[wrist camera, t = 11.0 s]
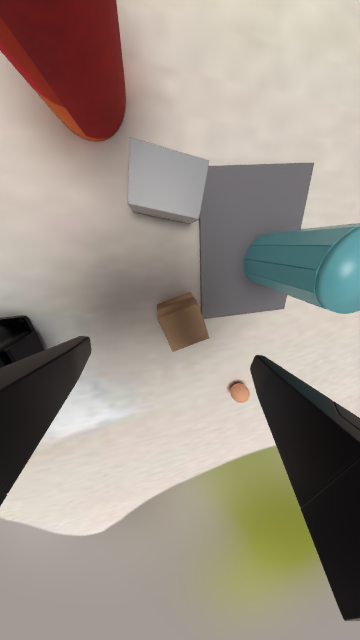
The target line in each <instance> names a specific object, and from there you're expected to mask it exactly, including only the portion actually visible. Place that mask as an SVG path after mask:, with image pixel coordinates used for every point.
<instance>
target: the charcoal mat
mask: <svg viewBox="0 0 360 640" xmlns="http://www.w3.org/2000/svg"><path fill="white" fill-rule="evenodd" d="M313 166H314V163H289V164H259V165H228V166H208V170H207V176H206V182H205V187H204V193H203V198H202V204H201V209H200V215H199V218H200V271H201V313H202V317H203V319H207V318H215V317H223V316H231V315H239V314H247V313H255V312H262V311H270V310H278V309H284V307H285V302H286V297H287V294H284V293H281V292H279V291H276V290H273V289H271V288H268V287H265V286H263V285H260V284H257V283H255V282H252V281H250V279H249V278H248V276H247V275H246V273H245V271H244V257H245V255H246V253H247V250H248V248H249V246H250V244H252V243H253V242H254V241H255V240H256V239H257V238H258V237H259V236H260V235H264V234H268V233H272V232H280V231H290V230H299V229H301V224H302V219H303V214H304V209H305V205H306V200H307V195H308V190H309V185H310V180H311V175H312V171H313Z"/></svg>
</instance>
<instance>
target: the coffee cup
mask: <svg viewBox="0 0 360 640" xmlns="http://www.w3.org/2000/svg"><path fill="white" fill-rule="evenodd" d="M0 51H1V52H2V53H3V54H4V55H5V56H6V58H7V59H8V60H9V61H10V62H11V63H12V65H13V66H14V67H15V68H16V69H17V70H18V72H19V73H20V74H21V75H22V76H23V77H24V78H25V80H26V81H27V82H28V83H29V84H30V85H31V87H32V88H33V89H34V90H35V91H36V92H37V93H38V95H39V96H40V97H41V98H42V99H43V100H44V101H45V103H46V104H47V105H48V106H49V107H50V108H51V109H52V111H53V112H54V113H55V114H56V115H57V116H58V117H59V118H60V119H61V120H62V121H63V123H64V124H65V125H66V126H67V127H68V128H70V129H71V130H72V131H73V132H74V133H76V134H77V135H79V136H81V137H83V138H85V139H88V140H92V141H102V140H106V139H108V138H110V137H111V136H113V135H114V134H115V133H116V132H117V130H118V129H119V127H120V125H121V123H122V121H123V117H124V113H125V103H126V96H125V81H124V70H123V61H122V51H121V41H120V32H119V23H118V14H117V4H116V0H0Z"/></svg>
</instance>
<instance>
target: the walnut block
mask: <svg viewBox="0 0 360 640" xmlns="http://www.w3.org/2000/svg"><path fill="white" fill-rule="evenodd" d="M157 313H158V320H159V323H160V325H161V327H162V329H163V331H164V334H165V336H166V338H167V340H168V342H169V345H170V347H171V349H172V351H176V350H179V349H181V348H184V347H187V346H189V345H192V344H195V343H197V342H200V341H203V340H205V339H208V338H209V336H208V332H207V329H206V326H205V323H204V320H203V317H202V313H201V310H200V307H199V304H198V302H197V301H196V300H195V298H194V297H193V296H192V294H191V293H187V294H184V295H182V296H179V297H177V298H174V299H171V300H169V301H166V302H164V303H161V304H158V305H157Z"/></svg>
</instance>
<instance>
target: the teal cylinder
mask: <svg viewBox="0 0 360 640" xmlns="http://www.w3.org/2000/svg"><path fill="white" fill-rule="evenodd" d="M244 271H245V273H246V275H247V276H248V278H249V279H250V281H252V282H255V283H257V284H260V285H263V286H265V287H268V288H271V289H273V290H276V291H279V292H281V293H284V294H287V295H289V296H292V297H295V298H297V299H300V300H303V301H305V302H308V303H311V304H313V305H316V306H319V307H322V308H324V309H327V310H330V311H333V312H336V313H342V314H347V313H353V312H356V311H359V310H360V223H358V224H348V225H338V226H329V227H319V228H309V229H299V230H290V231H280V232H272V233H268V234H264V235H260V236H259V237H258V238H257V239H256V240H255V241H254V242H253V243H252V244H250V246H249V248H248V250H247V253H246V255H245V257H244Z"/></svg>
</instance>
